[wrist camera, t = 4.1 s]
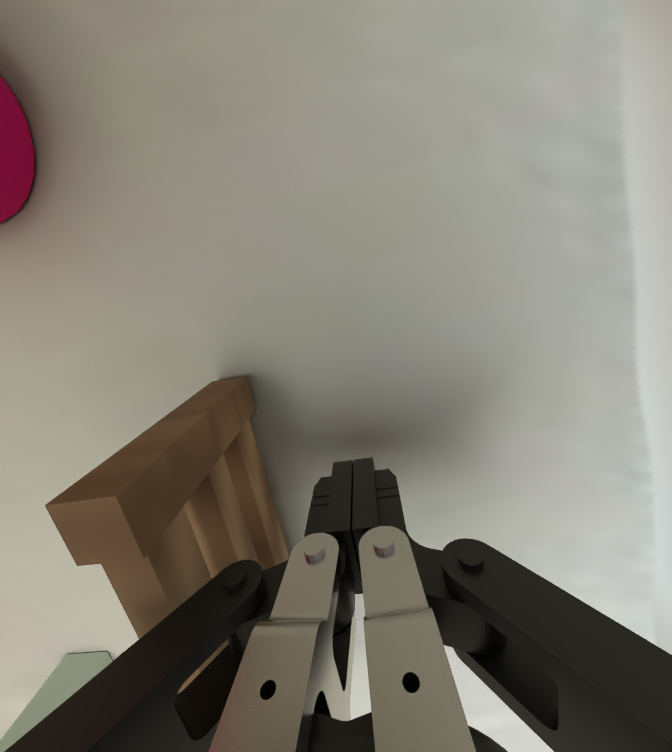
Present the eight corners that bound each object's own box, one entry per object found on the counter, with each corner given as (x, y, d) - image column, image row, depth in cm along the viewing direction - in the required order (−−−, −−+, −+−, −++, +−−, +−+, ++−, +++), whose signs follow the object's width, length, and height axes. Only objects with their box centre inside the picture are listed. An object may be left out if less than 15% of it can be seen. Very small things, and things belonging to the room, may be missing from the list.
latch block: (66, 654, 21) (-19, 764, 16) (107, 651, 21) (33, 762, 16) (101, 713, 23) (35, 828, 18) (140, 711, 23) (82, 828, 18)
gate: (212, 381, 14) (44, 505, 7) (246, 376, 14) (115, 496, 6) (285, 613, 18) (233, 858, 11) (312, 611, 18) (280, 858, 10)
